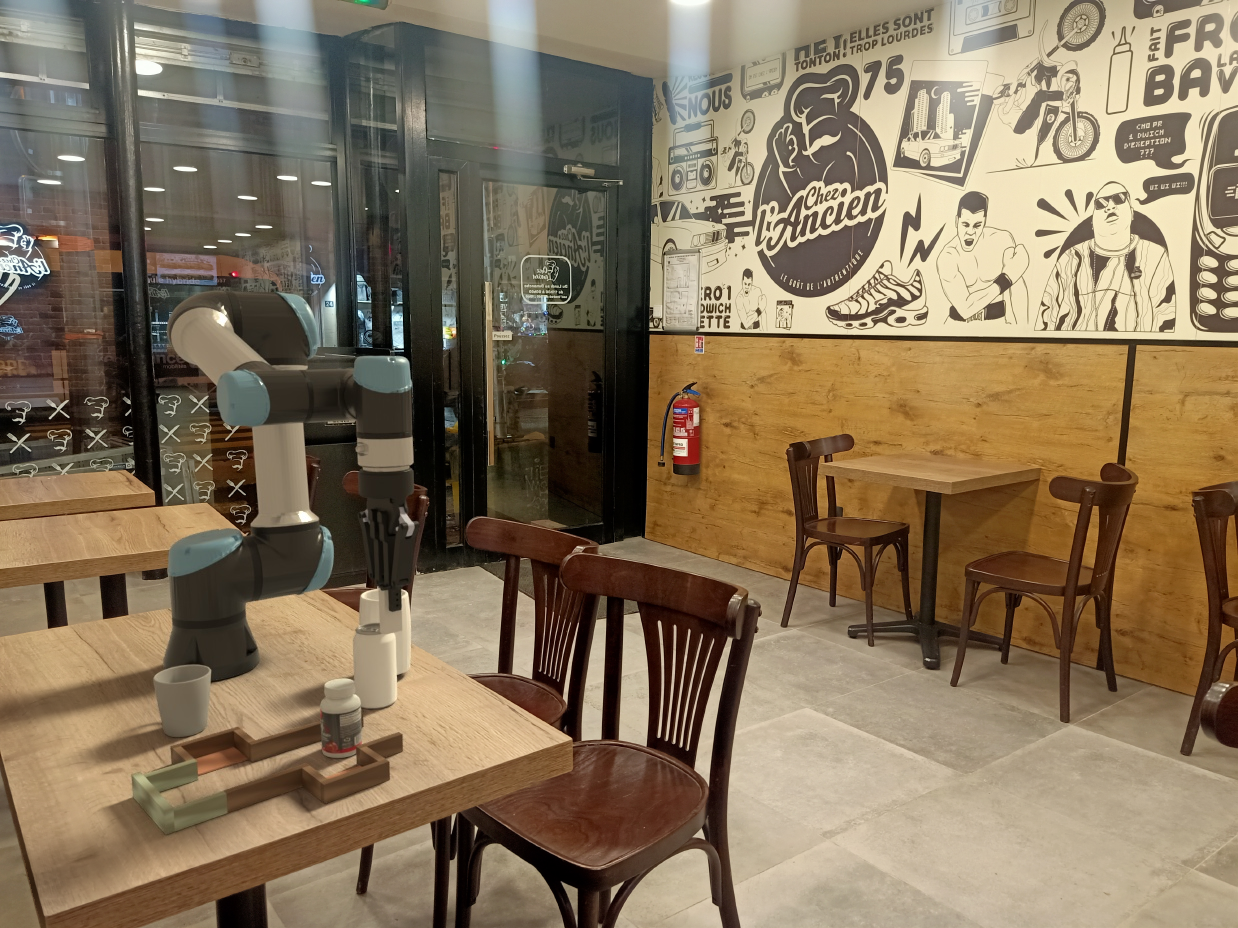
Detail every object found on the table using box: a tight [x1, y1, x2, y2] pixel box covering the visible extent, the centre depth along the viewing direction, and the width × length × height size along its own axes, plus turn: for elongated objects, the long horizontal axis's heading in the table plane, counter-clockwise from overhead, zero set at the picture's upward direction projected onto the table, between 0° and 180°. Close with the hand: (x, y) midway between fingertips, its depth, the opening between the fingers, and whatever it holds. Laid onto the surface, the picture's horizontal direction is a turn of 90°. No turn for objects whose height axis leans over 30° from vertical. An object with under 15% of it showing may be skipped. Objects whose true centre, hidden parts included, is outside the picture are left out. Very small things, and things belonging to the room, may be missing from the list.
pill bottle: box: [319, 677, 363, 759], centre depth 125 cm, size 5×5×10 cm
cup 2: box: [358, 588, 412, 676], centre depth 153 cm, size 8×8×14 cm
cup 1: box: [152, 665, 212, 738], centre depth 133 cm, size 8×10×8 cm
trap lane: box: [130, 709, 404, 835], centre depth 119 cm, size 24×31×3 cm
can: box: [352, 623, 398, 710], centre depth 142 cm, size 6×6×12 cm
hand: (391, 631), depth 129 cm, fingers closed
